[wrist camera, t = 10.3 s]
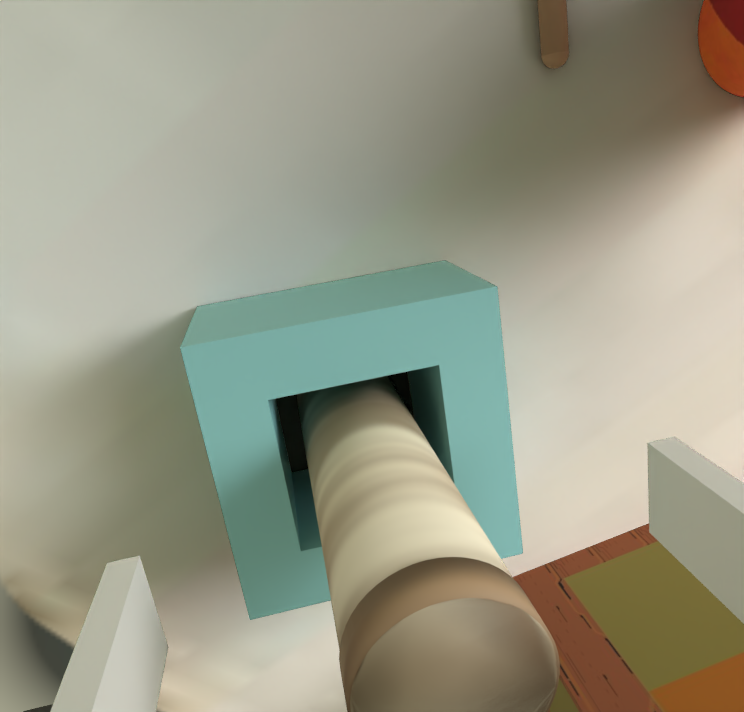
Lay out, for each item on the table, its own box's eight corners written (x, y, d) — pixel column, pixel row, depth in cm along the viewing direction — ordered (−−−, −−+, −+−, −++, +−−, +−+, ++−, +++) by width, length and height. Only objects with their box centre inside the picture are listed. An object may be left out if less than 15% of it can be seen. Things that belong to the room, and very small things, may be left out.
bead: (196, 306, 25) (180, 347, 19) (445, 260, 26) (497, 286, 21) (251, 528, 28) (250, 619, 22) (471, 478, 29) (523, 553, 24)
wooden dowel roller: (287, 362, 26) (329, 627, 11) (385, 342, 27) (552, 572, 12) (305, 452, 28) (366, 801, 12) (399, 432, 28) (566, 744, 13)
